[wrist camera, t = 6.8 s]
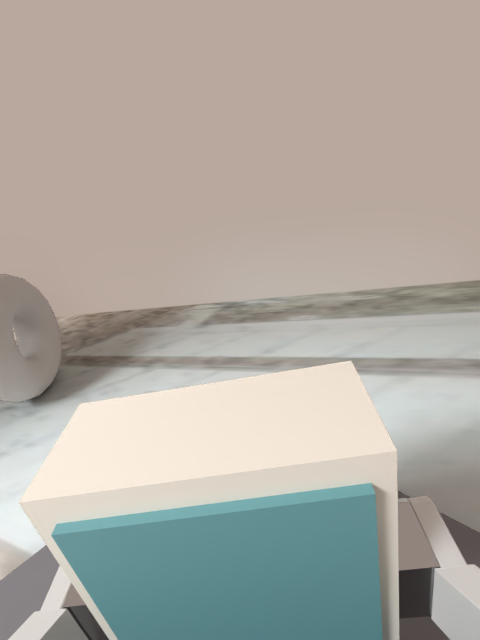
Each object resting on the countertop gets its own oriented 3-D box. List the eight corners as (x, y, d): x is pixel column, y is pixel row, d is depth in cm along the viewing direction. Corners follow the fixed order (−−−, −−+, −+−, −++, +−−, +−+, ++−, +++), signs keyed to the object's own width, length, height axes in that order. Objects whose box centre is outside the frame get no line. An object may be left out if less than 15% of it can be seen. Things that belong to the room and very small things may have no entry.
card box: (178, 756, 10) (11, 513, 6) (190, 636, 12) (79, 403, 8) (403, 741, 9) (402, 461, 5) (370, 619, 12) (351, 360, 8)
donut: (36, 425, 26) (-35, 298, 22) (-11, 435, 26) (-91, 309, 22) (81, 355, 35) (37, 255, 31) (46, 362, 35) (-3, 263, 31)
